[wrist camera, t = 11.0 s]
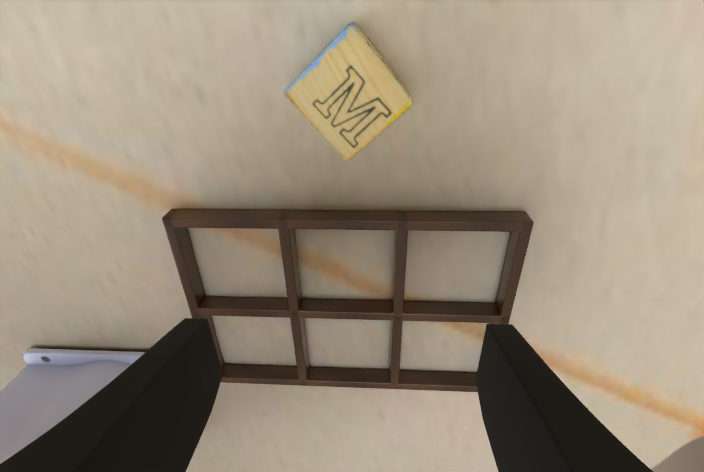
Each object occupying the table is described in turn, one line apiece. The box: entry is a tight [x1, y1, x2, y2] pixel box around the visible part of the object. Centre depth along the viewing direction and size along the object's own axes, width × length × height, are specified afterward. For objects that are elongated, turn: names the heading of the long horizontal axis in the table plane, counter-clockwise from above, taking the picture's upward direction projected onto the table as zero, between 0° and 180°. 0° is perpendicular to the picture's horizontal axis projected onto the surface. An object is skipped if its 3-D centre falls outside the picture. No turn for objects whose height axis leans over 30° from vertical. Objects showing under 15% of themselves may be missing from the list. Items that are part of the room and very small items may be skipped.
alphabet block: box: [284, 22, 412, 160], centre depth 14 cm, size 3×3×3 cm
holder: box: [162, 209, 533, 392], centre depth 20 cm, size 16×11×1 cm
